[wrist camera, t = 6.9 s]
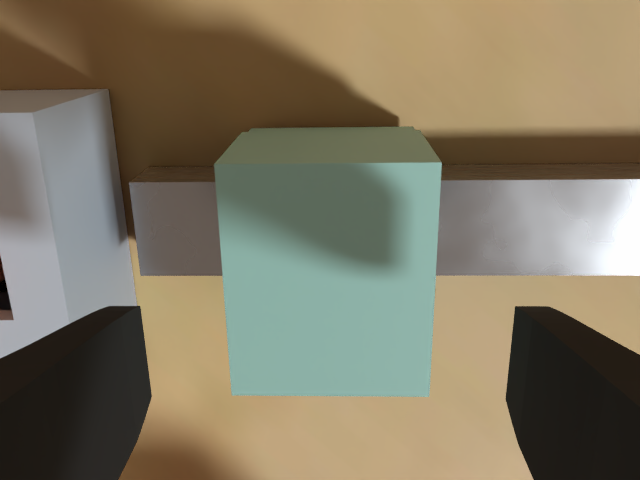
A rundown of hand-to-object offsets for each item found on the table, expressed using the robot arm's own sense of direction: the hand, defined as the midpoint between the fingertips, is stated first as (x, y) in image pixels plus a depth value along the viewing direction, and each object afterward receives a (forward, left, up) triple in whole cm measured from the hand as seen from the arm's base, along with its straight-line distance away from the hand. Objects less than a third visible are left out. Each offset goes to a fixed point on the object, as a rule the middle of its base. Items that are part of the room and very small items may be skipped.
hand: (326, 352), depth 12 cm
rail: (0, -5, -9) cm, 10 cm away
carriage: (0, 0, -9) cm, 9 cm away
